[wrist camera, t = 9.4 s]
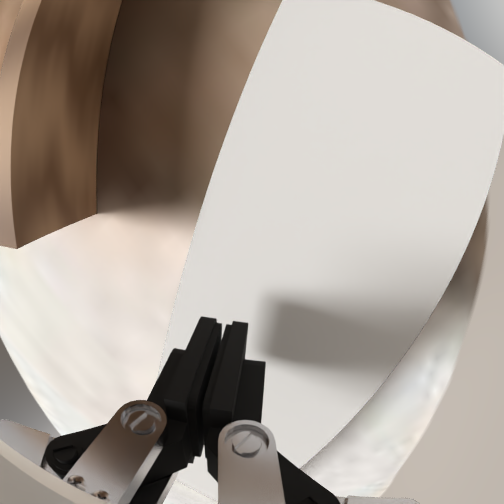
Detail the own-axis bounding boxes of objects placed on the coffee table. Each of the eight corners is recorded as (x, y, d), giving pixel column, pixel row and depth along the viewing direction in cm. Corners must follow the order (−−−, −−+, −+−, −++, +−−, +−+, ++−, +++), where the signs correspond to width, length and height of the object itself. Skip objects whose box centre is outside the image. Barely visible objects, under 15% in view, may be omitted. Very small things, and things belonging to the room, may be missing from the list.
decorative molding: (169, 429, 23) (258, 476, 21) (142, 459, 19) (240, 512, 17) (310, 30, 12) (474, 99, 10) (291, -18, 8) (512, 71, 5)
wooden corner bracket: (223, 224, 13) (183, 276, 7) (75, 212, 14) (-3, 244, 8) (255, -64, 7) (244, -130, 2) (117, -42, 8) (71, -83, 2)
